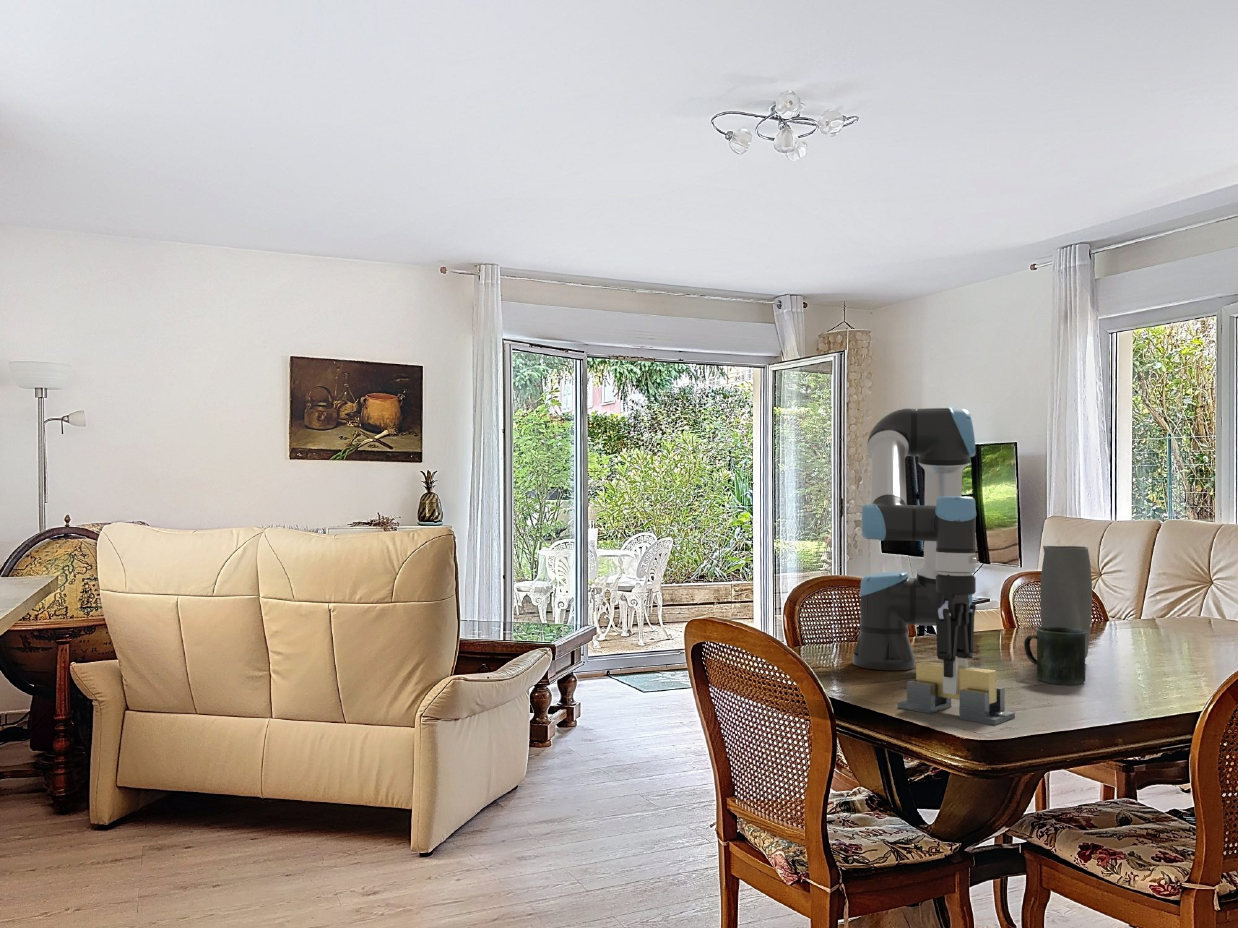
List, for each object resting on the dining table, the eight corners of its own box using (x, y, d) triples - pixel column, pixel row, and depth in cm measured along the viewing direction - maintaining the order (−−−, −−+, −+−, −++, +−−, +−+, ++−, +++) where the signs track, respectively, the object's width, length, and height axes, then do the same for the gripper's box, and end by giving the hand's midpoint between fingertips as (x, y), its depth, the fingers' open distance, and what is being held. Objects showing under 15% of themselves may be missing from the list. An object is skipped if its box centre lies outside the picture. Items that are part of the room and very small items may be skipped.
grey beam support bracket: (959, 718, 188) (959, 690, 189) (979, 711, 195) (979, 683, 195) (995, 725, 184) (995, 695, 184) (1014, 717, 190) (1014, 689, 190)
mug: (1071, 688, 220) (1071, 634, 220) (1012, 677, 232) (1012, 626, 232) (1096, 682, 226) (1096, 630, 227) (1037, 673, 238) (1037, 623, 239)
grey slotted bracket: (897, 707, 198) (898, 680, 198) (919, 701, 204) (919, 674, 204) (930, 713, 193) (930, 685, 193) (951, 706, 199) (951, 679, 199)
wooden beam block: (916, 692, 198) (916, 663, 198) (924, 690, 200) (924, 661, 200) (988, 704, 187) (988, 672, 187) (996, 701, 190) (996, 670, 190)
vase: (1089, 668, 245) (1089, 548, 246) (1036, 663, 251) (1036, 546, 252) (1095, 661, 255) (1095, 546, 256) (1044, 656, 262) (1044, 544, 263)
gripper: (954, 577, 186) (954, 700, 185) (991, 572, 198) (991, 689, 197) (918, 574, 191) (917, 694, 191) (956, 570, 203) (956, 683, 202)
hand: (955, 691), depth 194 cm, fingers closed on wooden beam block, 3 cm apart
